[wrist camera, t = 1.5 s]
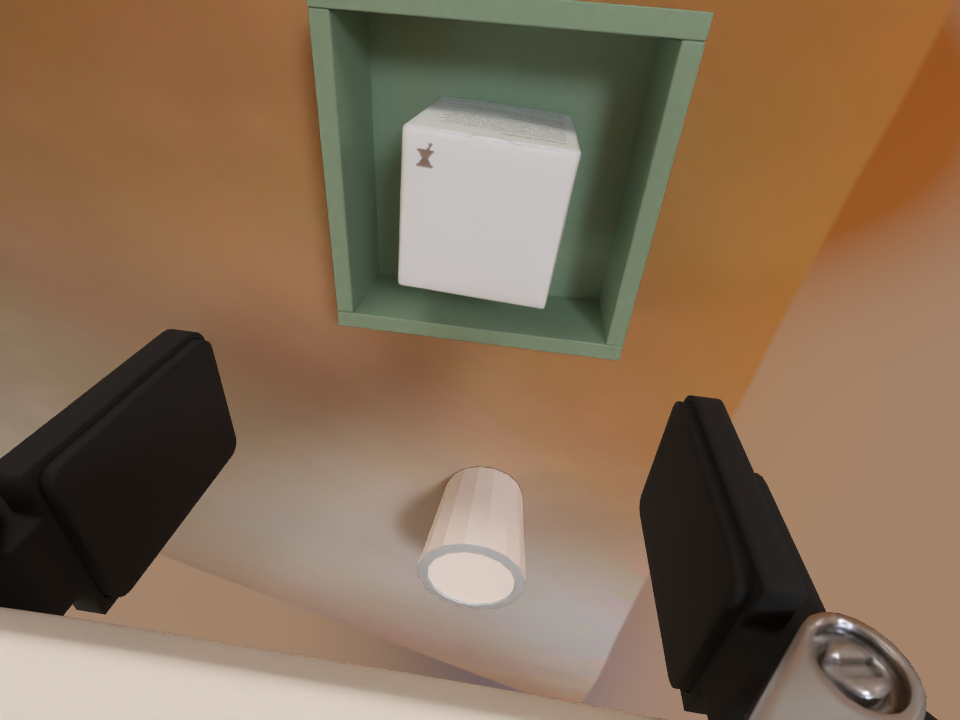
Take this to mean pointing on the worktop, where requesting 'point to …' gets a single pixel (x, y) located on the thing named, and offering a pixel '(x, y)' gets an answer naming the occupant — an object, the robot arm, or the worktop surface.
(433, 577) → the shot glass
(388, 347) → the worktop surface
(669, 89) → the green square tray
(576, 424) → the worktop surface
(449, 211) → the product box
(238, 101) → the worktop surface
